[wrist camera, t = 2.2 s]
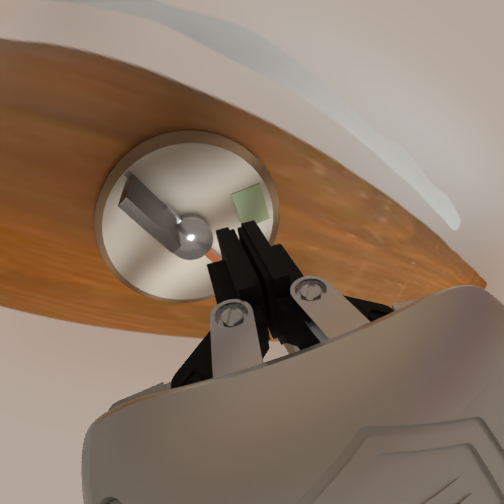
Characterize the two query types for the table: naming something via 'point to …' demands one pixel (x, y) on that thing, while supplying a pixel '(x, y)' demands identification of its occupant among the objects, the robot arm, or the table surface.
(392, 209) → the table surface
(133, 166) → the base
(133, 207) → the dial pointer
